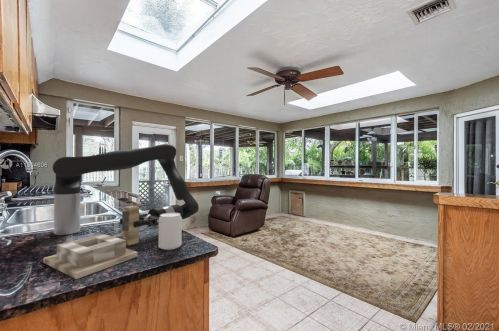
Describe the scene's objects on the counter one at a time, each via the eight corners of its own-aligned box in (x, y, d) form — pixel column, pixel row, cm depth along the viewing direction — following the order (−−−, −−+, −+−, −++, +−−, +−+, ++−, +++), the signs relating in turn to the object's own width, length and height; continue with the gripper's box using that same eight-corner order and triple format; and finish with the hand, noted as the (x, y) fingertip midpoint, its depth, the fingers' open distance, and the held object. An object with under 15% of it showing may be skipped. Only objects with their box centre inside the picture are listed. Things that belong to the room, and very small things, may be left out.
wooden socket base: (43, 262, 73) (43, 244, 73) (103, 245, 89) (103, 230, 89) (76, 279, 63) (76, 258, 63) (137, 256, 79) (137, 239, 79)
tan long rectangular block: (121, 244, 91) (121, 207, 90) (132, 240, 95) (132, 205, 94) (127, 245, 89) (128, 208, 88) (138, 242, 93) (139, 206, 92)
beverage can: (186, 245, 90) (186, 213, 90) (169, 252, 83) (169, 218, 83) (170, 241, 94) (170, 211, 94) (153, 248, 87) (153, 215, 86)
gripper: (151, 205, 108) (115, 211, 94) (173, 208, 101) (139, 215, 87) (150, 221, 108) (115, 230, 94) (173, 226, 101) (138, 236, 87)
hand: (126, 223), depth 90 cm, fingers open, 8 cm apart
